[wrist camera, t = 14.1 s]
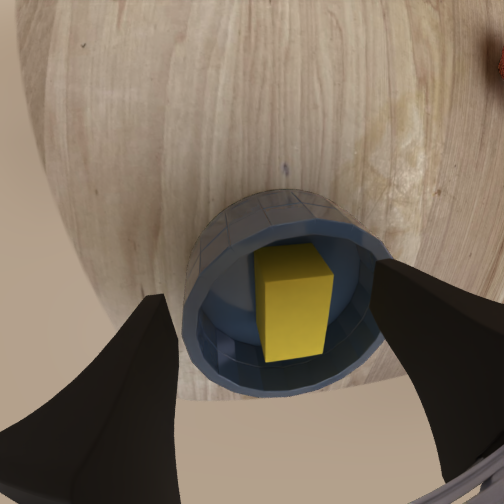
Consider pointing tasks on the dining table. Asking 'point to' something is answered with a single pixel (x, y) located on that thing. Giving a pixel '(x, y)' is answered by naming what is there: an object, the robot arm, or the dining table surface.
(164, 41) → the dining table surface
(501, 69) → the onion
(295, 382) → the bowl
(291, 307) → the yellow block
